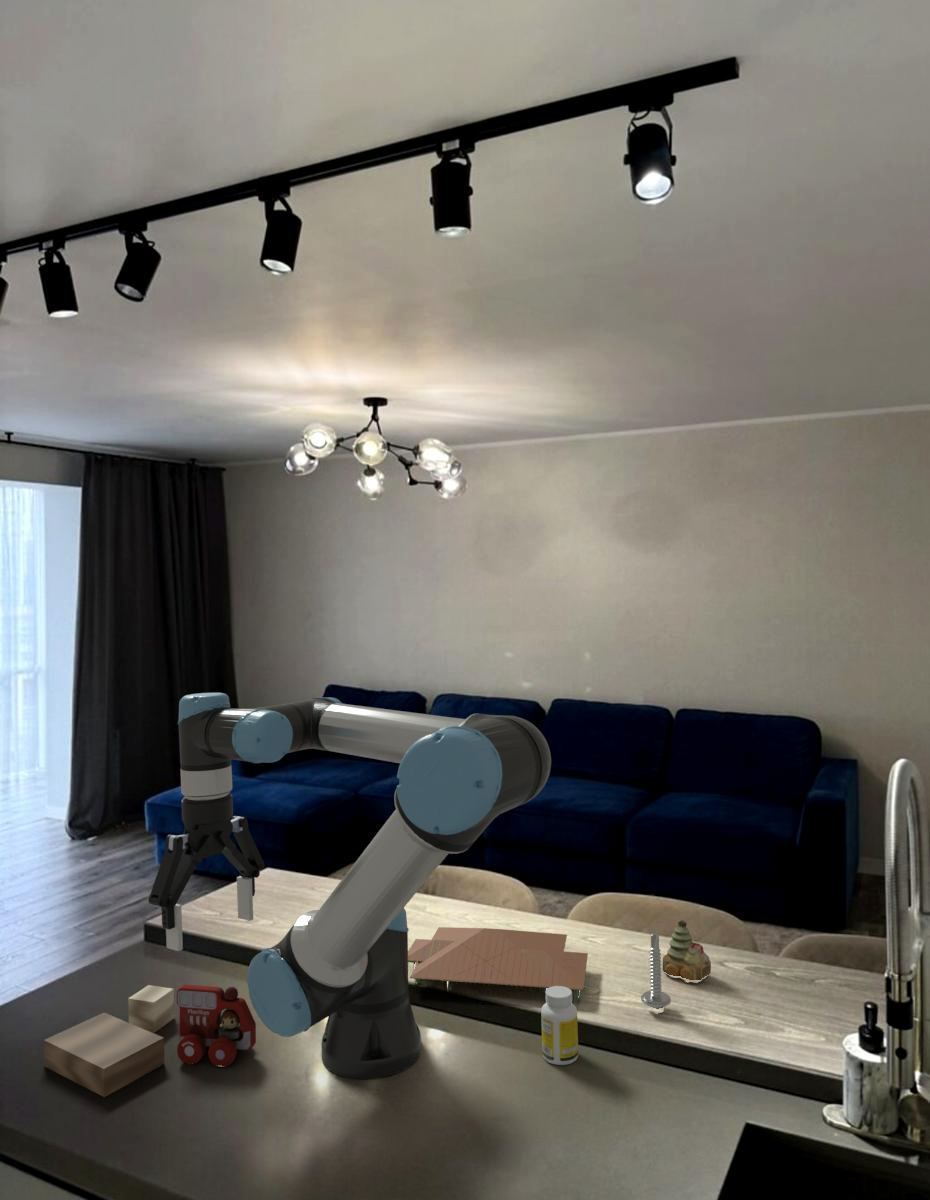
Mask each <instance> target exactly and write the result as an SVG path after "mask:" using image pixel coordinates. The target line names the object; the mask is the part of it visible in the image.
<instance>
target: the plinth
mask: <svg viewBox="0 0 930 1200" xmlns="http://www.w3.org/2000/svg"><path fill="white" fill-rule="evenodd" d="M43 1061H44V1065H43V1066H44V1068H47V1069H49V1070H51V1071H52V1072H55V1073H56V1074H58V1075H60V1076H62V1077H64V1078H65V1079H68V1080H70V1081H71V1082H74V1083H75V1084H78V1085H79V1086H82V1087H83V1088H85V1089H87V1090H89V1091H91V1092H93V1093H96V1094H98V1095H99V1096H101V1097H103V1098H106V1097H107V1096H110V1095H111V1094H112V1093H115V1092H117V1091H119V1090H120V1089H122V1088H124V1087H126V1086H128V1085H129V1084H131V1083H133V1082H135V1081H136V1080H139V1079H140V1078H142V1077H145V1074H146V1075H147V1073H148V1074H150V1073H152V1072H153V1071H155V1070H156V1068H157V1069H159V1068H160V1067H162V1066H163V1065H162V1064H164V1065H165V1037H163V1036H161V1035H159V1034H157V1033H153V1032H149V1031H147V1030H144V1029H142V1028H140V1027H137V1026H135V1025H133V1024H130V1023H129V1021H125V1020H123V1019H121V1018H118V1017H116V1016H113V1015H111V1014H108V1013H107V1012H102V1013H100V1014H98V1015H96V1016H93V1017H91V1018H89V1019H87V1020H85V1021H81V1023H78V1024H76V1025H74V1026H71V1027H69V1028H68V1029H67V1028H66V1029H65V1030H63V1031H60V1032H59V1033H56V1034H54V1035H52V1036H49V1037H48V1038H45V1039H43ZM161 1065H162V1066H161ZM159 1066H160V1067H159ZM154 1069H155V1070H154ZM152 1070H153V1071H152Z"/></svg>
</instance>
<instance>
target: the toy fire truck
mask: <svg viewBox="0 0 930 1200" xmlns="http://www.w3.org/2000/svg"><path fill="white" fill-rule="evenodd" d="M176 1004H177V1006H178V1007H179V1029H178V1031H179V1033H178V1034H179V1035H178V1036H179V1039H178V1040H179V1042H178V1044H177V1046H176V1052H177V1053H176V1054H177V1058H179V1060H180V1061H181V1062H182V1063H183V1064H185V1063H188V1064H192V1063H193V1064H192V1065H195V1064H197V1063H198V1062H200V1061H201V1060H202V1058H203V1057H204V1055H205V1053H206V1048H209V1049H208V1051H207V1052H208V1053H207V1055H208V1060H209V1061H210V1062H211V1063H212V1065H213V1066H215V1065H217V1066H218V1065H222V1066H227V1067H229V1066H230V1065H231V1064H232V1063H233V1061H235V1059H236V1058H237V1057H236V1056H237V1050H238V1051H247V1052H248V1051H250V1050H251V1049H252V1048H253V1047H255V1045H256V1043H257V1024H256V1021H255V1019H254V1017H253V1014H252V1013H251V1010H250V1008H249V1005H248V1003H247V1001H246V1000H245V999H244V998H243V997H239V991H238V988H237V987H236V986H229V987H227V988H226V989H225V991H224V989H223V988H222V987H219V986H211V985H196V984H195V985H194V984H185V983H184V984H182V985H181V986H180V987H179V988H178V989H177V991H176ZM194 1063H195V1064H194ZM188 1064H187V1065H188ZM228 1065H229V1066H228Z"/></svg>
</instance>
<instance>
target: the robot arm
mask: <svg viewBox="0 0 930 1200" xmlns="http://www.w3.org/2000/svg"><path fill="white" fill-rule="evenodd" d="M177 725H178V739H179V740H178V741H179V759H180V760H179V762H180V790H181V792H180V794H181V795H183V798H182V799H181V819H182V821H181V822H182V823H183V825H184V831H183V834H179V835H175V834H168V835H167V836H166V837H165V847H164V849H165V850H164V853H163V856H162V859H161V862H160V864H159V867H158V871H157V874H156V876H155V880H154V883H153V885H152V888H151V891H150V895H149V897H148V903H149V905H154V906H156V907H157V906H158V907H160V908H161V926H162V928H164V929H165V936H166V939H165V940H166V942H165V943H166V944H165V945H166V949H170V950H173V951H176V952H180V951H182V950H183V949H184V947H183V945H184V944H183V915H182V914H183V913H182V904H179V903H178V901H179V900H180V898H181V896H182V893H183V892H184V890H185V888H186V886H187V885H188V882H189V881H190V878H191V877H192V875H193V873H194V871H195V869H196V868H197V866H198V865H199V864H201V863H202V861H203V859H204V860H205V859H209V858H210V857H212V856H214V855H215V856H216V855H219V854H220V855H221V854H222V855H224V857H225V858H226V859H227V860H228V861H229V862H230V863H231V864H232V866H234V868H235V869H236V870H237V871H238V873H240V875H239V876H237V877H236V893H237V894H236V897H237V899H236V901H237V919H241V920H245V921H248V922H249V921H250V922H251V921H253V920H254V902H253V897H255V893H256V880H255V878H259V876H260V874H261V872H260V871H262V870H264V869H265V867H266V866H265V865H266V864H265V862H264V860H263V858H262V855H261V854H260V851H259V848H258V847H257V844H256V842H255V841H254V839H253V836H252V835H251V832H250V830H249V823H248V819H247V817H244V816H238V815H234V802H233V800H234V799H233V794H232V793H231V791H232V790H233V771H232V760H235V761H243V762H248V763H252V764H261V763H265V764H267V763H275V762H278V761H280V760H281V759H282V758H283V757H284V756H285V755H286V754H289V753H294V752H298V751H303V750H309V749H315V750H321V751H327V752H334V753H340V754H345V755H351V756H357V757H362V758H368V759H374V760H380V761H384V762H389V763H391V762H392V763H396V764H399V766H398V770H397V775H396V778H397V779H399V780H398V782H399V784H397V786H396V789H395V791H394V796H393V797H394V798H393V800H394V807H395V810H394V811H393V812H392V814H391V815H390V816H389V818H388V819H387V820H386V821H385V823H384V824H383V825H382V827H381V828H380V829H379V830H378V832H377V833H376V835H375V836H374V837H373V838H372V840H371V841H370V843H369V844H368V845H367V847H365V849H364V850H363V852H362V853H361V854H360V856H359V857H358V858H357V860H356V861H355V862H354V863H353V865H352V866H351V867H350V869H348V871H347V873H346V874H345V875H344V877H343V878H342V879H341V880H340V882H339V883H337V886H335V888H334V890H333V891H332V893H330V895H329V896H328V897H327V898H326V900H324V903H323V904H322V905H321V907H320V908H319V909H315V910H310V911H307V912H305V913H303V914H301V916H300V917H299V918H298V919H296V921H295V922H294V924H293V925H292V926H291V928H290V929H289V930H288V932H286V934H285V935H284V936H283V938H282V939H281V940H280V941H279V942H278V943H277V944H275V945H273V946H271V947H266V948H264V949H262V950H261V952H259V953H257V954H256V955H255V956H254V957H253V958H252V959H251V961H250V963H249V966H248V967H247V968H248V970H247V978H246V979H247V980H246V981H247V983H246V984H247V987H248V996H249V999H250V1002H251V1004H252V1007H253V1010H254V1011H255V1013H256V1015H257V1016H258V1018H259V1019H260V1021H261V1022H262V1023H263V1025H265V1027H266V1028H267V1029H268V1030H269V1031H271V1032H272V1033H274V1034H277V1035H278V1036H280V1037H284V1038H291V1037H294V1036H297V1035H298V1034H301V1033H303V1032H307V1031H309V1029H310V1028H311V1027H313V1026H315V1025H316V1024H319V1022H322V1021H323V1020H325V1019H327V1021H326V1024H325V1028H324V1033H323V1035H322V1037H321V1038H322V1039H321V1044H320V1045H321V1060H322V1063H323V1065H324V1066H325V1068H327V1069H328V1070H329V1071H330V1072H332V1073H334V1074H336V1075H339V1076H341V1077H345V1078H350V1079H358V1080H367V1079H368V1080H369V1079H379V1078H384V1077H385V1078H386V1077H388V1076H392V1075H394V1074H395V1075H396V1074H398V1073H400V1072H403V1071H404V1070H406V1069H407V1068H409V1067H411V1066H412V1065H413V1064H414V1063H416V1061H417V1060H418V1059H419V1057H420V1055H421V1052H422V1036H421V1035H422V1034H421V1031H420V1027H419V1025H418V1024H417V1023H416V1022H417V1021H416V1019H415V1016H414V1011H413V1008H412V1005H411V1002H410V997H409V962H408V951H409V946H408V945H409V937H408V933H409V927H408V920H407V918H408V917H407V912H406V909H405V907H406V906H407V904H408V903H409V902H410V900H411V899H413V897H414V896H415V895H416V894H417V893H418V891H420V889H421V888H422V886H423V885H424V884H425V882H427V880H428V879H429V877H431V875H432V874H433V873H434V872H435V871H436V869H437V868H439V867H438V866H440V865H441V864H442V863H443V861H444V860H445V859H446V857H447V856H448V855H449V854H450V855H453V854H455V855H456V854H460V853H461V854H462V853H464V852H466V851H467V850H469V849H470V848H471V846H472V845H473V844H474V843H475V842H476V841H477V839H478V838H479V837H480V836H481V835H482V834H483V832H484V831H485V829H487V828H488V826H489V825H490V824H491V823H492V822H493V820H495V818H497V817H498V816H499V815H501V814H503V813H506V812H508V811H510V810H513V809H515V808H517V807H520V806H522V805H524V804H526V803H528V802H530V801H531V800H533V799H535V798H536V796H537V795H538V794H539V793H540V792H541V791H542V789H544V787H545V786H546V783H547V781H548V780H549V777H550V773H551V768H552V767H551V766H552V756H551V751H550V750H551V749H550V747H549V744H548V742H547V739H546V738H545V735H543V733H542V732H541V731H540V730H539V728H538V727H536V726H535V725H534V724H533V723H532V722H530V721H528V720H527V719H524V718H521V717H519V716H516V715H495V714H485V713H473V714H470V715H469V716H468V717H466V718H459V717H449V716H442V715H435V714H434V715H433V714H426V713H418V712H411V711H402V710H394V709H387V708H386V709H385V708H381V707H380V708H379V707H372V706H365V705H364V706H363V705H356V704H355V705H354V704H348V703H347V704H346V703H343V702H342V701H340V699H338V698H337V697H330V696H329V697H313V698H311V699H308V700H301V701H300V700H299V701H296V702H295V701H294V702H289V703H283V704H281V703H280V704H276V705H274V704H273V705H268V706H263V707H255V708H232V707H231V703H230V697H229V696H228V694H227V693H223V692H201V693H191V694H186V695H183V696H182V698H181V699H180V700H179V704H178V721H177ZM233 815H234V816H233ZM232 833H233V836H234V838H235V840H236V842H237V844H238V846H239V848H240V850H241V851H240V850H239V849H238V848H237V844H236V843H235V842H234V841H233V840H232V839H231V838H230V836H231V834H232ZM191 854H192V855H191ZM241 875H242V876H241Z"/></svg>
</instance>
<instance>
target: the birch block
mask: <svg viewBox="0 0 930 1200" xmlns="http://www.w3.org/2000/svg"><path fill="white" fill-rule="evenodd" d="M174 994H175V989H174V988H171V987H164V986H159V985H151V984H148V985H146V986H144V988H142V989H140V990H139V991H138V992H136V993H134V994H133V995H131V996H129V997H128V999H127V1001H128V1003H127V1004H128V1023H130V1024H133V1025H135V1026H137V1027H140V1028H142V1029H144V1030H147V1031H149V1032H151V1033H154V1034H156V1032H157V1031H159V1030H160V1029H161V1028H163V1027H164V1026H166V1025H167V1024H168V1023H170V1022H171V1021H172V1020H174V1019H175V995H174Z"/></svg>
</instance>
